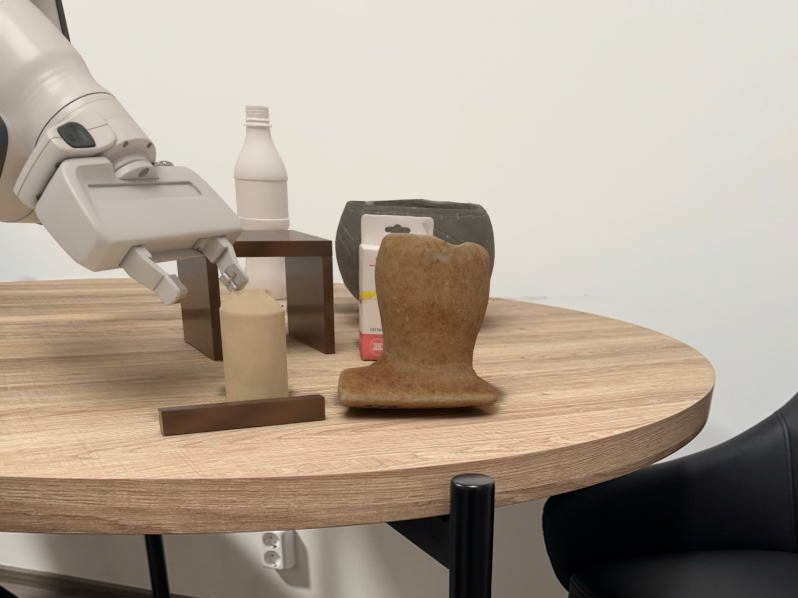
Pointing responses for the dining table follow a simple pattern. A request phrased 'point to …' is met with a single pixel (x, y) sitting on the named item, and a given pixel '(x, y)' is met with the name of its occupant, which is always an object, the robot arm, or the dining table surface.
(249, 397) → the candle
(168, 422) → the rail
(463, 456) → the dining table surface
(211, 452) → the dining table surface
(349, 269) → the bowl
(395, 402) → the tan flared-base block
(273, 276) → the water bottle
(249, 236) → the shelf unit
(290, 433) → the dining table surface
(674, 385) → the dining table surface
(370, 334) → the ink cartridge box
